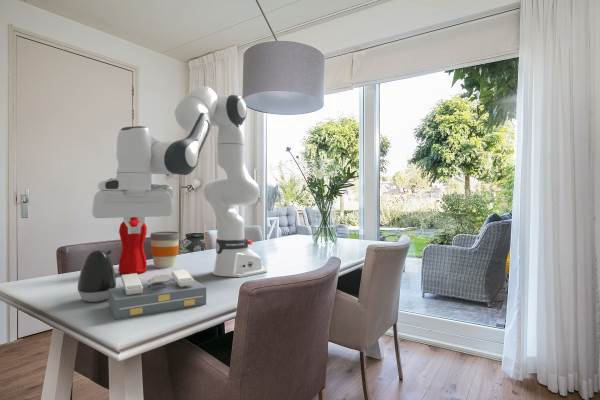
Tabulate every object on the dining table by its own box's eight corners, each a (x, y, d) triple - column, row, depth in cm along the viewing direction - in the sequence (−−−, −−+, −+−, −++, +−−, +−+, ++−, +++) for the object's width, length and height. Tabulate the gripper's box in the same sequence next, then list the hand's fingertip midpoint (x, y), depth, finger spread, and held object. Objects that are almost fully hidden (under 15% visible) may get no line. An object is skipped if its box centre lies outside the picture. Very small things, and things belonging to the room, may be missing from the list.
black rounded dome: (124, 296, 111) (124, 248, 111) (98, 306, 101) (98, 253, 101) (96, 293, 113) (97, 246, 113) (68, 303, 103) (69, 251, 103)
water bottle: (130, 269, 151) (130, 211, 150) (150, 271, 147) (150, 211, 146) (111, 273, 142) (112, 211, 142) (132, 276, 138) (132, 212, 138)
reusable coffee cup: (166, 269, 150) (166, 234, 150) (143, 267, 155) (143, 233, 155) (185, 264, 162) (185, 232, 162) (163, 262, 167) (164, 231, 166)
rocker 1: (136, 277, 103) (137, 272, 103) (142, 292, 96) (143, 287, 96) (121, 279, 101) (121, 274, 100) (126, 294, 94) (126, 289, 93)
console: (192, 293, 114) (192, 275, 114) (206, 304, 104) (206, 284, 103) (108, 306, 101) (108, 285, 101) (115, 319, 90) (115, 296, 90)
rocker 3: (184, 273, 111) (185, 268, 111) (193, 284, 104) (194, 279, 103) (171, 275, 109) (172, 270, 108) (180, 286, 101) (180, 281, 101)
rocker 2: (162, 284, 107) (161, 278, 107) (169, 280, 100) (169, 274, 100) (148, 285, 104) (147, 280, 105) (154, 281, 97) (154, 275, 98)
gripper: (169, 185, 106) (169, 230, 107) (91, 183, 95) (91, 234, 95) (175, 184, 101) (175, 232, 101) (93, 182, 89) (93, 236, 90)
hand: (134, 233), depth 98 cm, fingers closed
